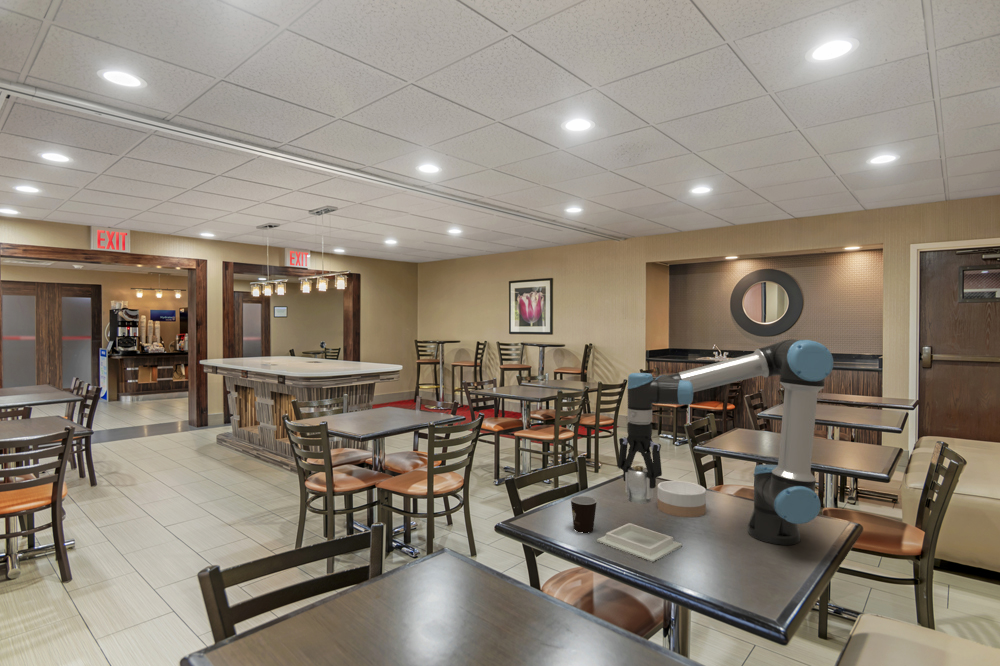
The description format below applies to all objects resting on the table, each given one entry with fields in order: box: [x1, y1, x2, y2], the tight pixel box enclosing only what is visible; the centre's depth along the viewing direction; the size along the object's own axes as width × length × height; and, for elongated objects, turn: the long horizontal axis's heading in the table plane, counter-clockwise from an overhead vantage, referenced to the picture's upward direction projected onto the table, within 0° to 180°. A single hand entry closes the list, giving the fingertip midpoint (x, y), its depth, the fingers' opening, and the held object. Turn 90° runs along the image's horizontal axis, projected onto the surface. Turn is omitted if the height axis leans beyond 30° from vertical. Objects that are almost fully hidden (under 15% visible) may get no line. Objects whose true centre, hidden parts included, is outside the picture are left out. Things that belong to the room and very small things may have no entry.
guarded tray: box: [596, 522, 683, 561], centre depth 163 cm, size 20×17×3 cm
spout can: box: [627, 465, 652, 505], centre depth 163 cm, size 7×7×11 cm
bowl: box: [657, 480, 707, 518], centre depth 195 cm, size 17×17×8 cm
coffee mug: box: [570, 495, 597, 534], centre depth 176 cm, size 12×9×10 cm
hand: (639, 494), depth 163 cm, fingers closed on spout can, 7 cm apart
